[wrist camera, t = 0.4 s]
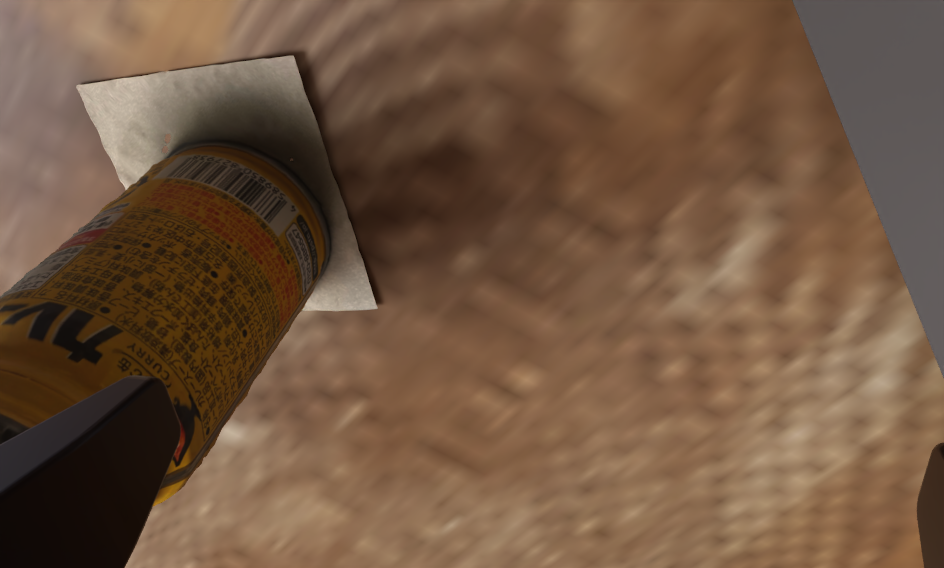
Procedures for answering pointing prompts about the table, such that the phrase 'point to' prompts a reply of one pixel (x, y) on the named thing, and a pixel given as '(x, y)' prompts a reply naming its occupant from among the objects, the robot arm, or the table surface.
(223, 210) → the condiment
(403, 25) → the table surface
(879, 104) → the button panel
